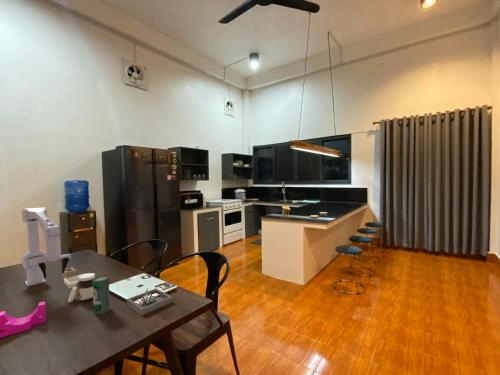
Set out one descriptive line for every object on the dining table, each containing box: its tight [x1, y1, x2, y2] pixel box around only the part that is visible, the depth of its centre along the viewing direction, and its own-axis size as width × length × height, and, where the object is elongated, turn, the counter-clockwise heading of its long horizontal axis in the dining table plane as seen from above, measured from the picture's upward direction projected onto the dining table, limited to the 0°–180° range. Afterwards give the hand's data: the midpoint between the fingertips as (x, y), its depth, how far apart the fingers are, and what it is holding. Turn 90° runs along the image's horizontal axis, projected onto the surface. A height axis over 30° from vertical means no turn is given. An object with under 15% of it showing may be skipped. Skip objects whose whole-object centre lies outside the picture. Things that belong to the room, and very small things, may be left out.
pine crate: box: [61, 267, 77, 281], centre depth 150 cm, size 7×5×6 cm
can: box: [92, 275, 111, 316], centre depth 114 cm, size 6×6×15 cm
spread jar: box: [67, 272, 96, 303], centre depth 125 cm, size 12×11×12 cm
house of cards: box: [140, 287, 157, 307], centre depth 118 cm, size 9×9×8 cm
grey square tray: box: [126, 287, 173, 317], centre depth 120 cm, size 15×15×3 cm
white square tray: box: [63, 272, 88, 290], centre depth 145 cm, size 11×11×3 cm
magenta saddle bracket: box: [0, 300, 47, 338], centre depth 102 cm, size 15×6×8 cm, turn 130°
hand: (54, 274), depth 131 cm, fingers open, 7 cm apart
